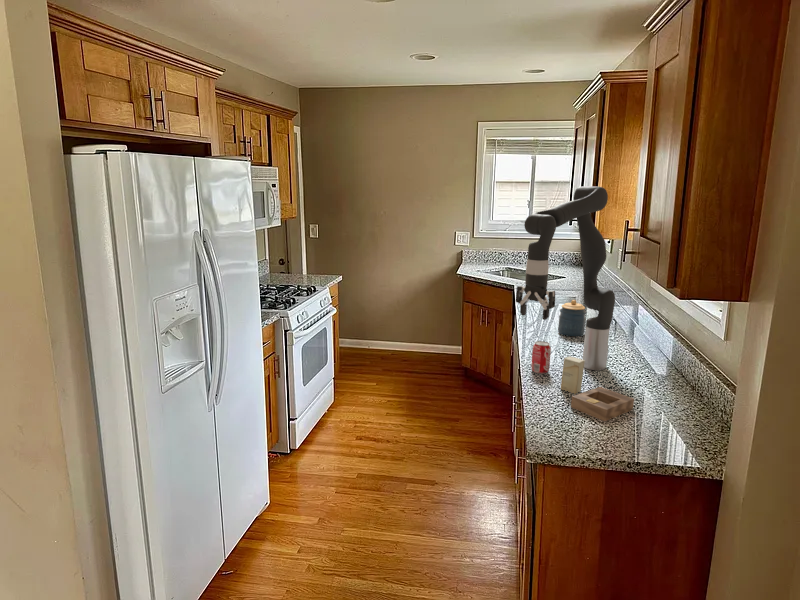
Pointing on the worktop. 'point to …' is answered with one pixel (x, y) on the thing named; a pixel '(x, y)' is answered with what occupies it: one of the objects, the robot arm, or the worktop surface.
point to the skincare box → (572, 374)
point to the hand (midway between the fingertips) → (533, 317)
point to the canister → (572, 319)
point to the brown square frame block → (602, 403)
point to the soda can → (541, 357)
